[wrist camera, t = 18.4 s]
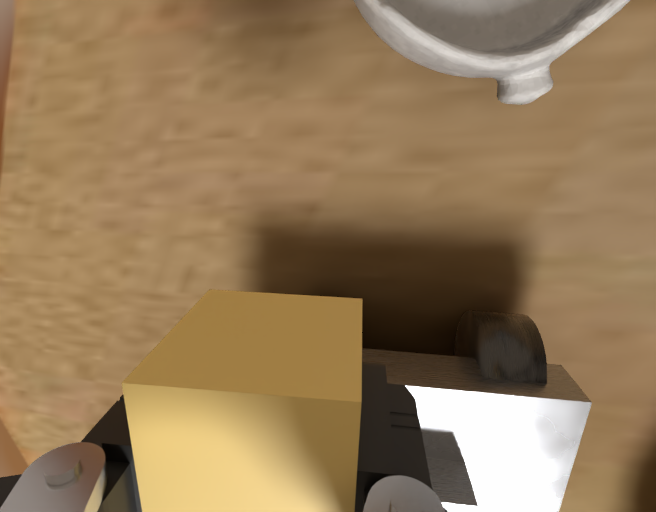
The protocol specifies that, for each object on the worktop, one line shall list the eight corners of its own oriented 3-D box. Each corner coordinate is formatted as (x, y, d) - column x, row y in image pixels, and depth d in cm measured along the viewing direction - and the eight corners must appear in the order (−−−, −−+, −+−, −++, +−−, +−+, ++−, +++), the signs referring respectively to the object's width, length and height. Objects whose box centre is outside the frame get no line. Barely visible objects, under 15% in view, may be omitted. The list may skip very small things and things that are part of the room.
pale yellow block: (362, 298, 10) (361, 402, 6) (353, 454, 12) (348, 611, 8) (209, 289, 10) (121, 382, 7) (220, 442, 12) (154, 588, 8)
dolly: (537, 299, 24) (640, 402, 15) (487, 518, 30) (540, 686, 21) (278, 280, 25) (231, 365, 16) (277, 494, 31) (242, 645, 22)
